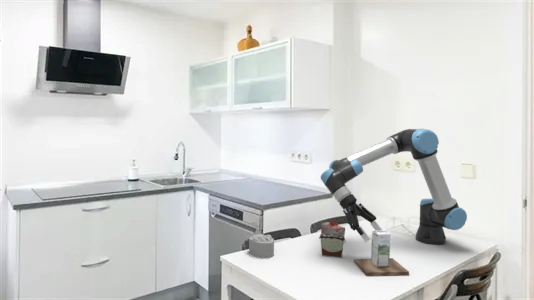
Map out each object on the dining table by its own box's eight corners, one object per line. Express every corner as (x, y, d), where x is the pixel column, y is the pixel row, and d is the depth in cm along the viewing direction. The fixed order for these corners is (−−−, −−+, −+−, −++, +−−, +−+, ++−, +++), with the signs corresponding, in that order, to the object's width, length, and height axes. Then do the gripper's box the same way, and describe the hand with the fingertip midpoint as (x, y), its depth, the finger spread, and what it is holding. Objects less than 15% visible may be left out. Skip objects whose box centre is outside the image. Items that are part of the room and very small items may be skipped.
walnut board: (392, 261, 165) (392, 258, 165) (408, 275, 149) (409, 271, 149) (353, 262, 163) (353, 258, 163) (366, 276, 147) (366, 272, 147)
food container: (346, 254, 173) (347, 233, 173) (345, 258, 168) (345, 237, 167) (321, 251, 177) (321, 231, 177) (318, 255, 172) (319, 234, 171)
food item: (347, 242, 193) (347, 223, 193) (336, 244, 189) (337, 225, 188) (329, 235, 205) (329, 218, 204) (318, 238, 200) (319, 220, 199)
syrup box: (382, 262, 159) (383, 229, 159) (389, 267, 154) (390, 233, 153) (370, 262, 158) (371, 230, 158) (377, 267, 153) (378, 233, 152)
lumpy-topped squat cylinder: (264, 248, 181) (264, 231, 181) (279, 255, 170) (279, 237, 170) (246, 251, 175) (246, 234, 175) (260, 260, 164) (260, 241, 164)
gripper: (353, 199, 177) (381, 235, 168) (325, 207, 158) (355, 248, 149) (363, 190, 173) (393, 226, 164) (336, 196, 154) (368, 238, 145)
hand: (375, 237), depth 156 cm, fingers open, 13 cm apart
